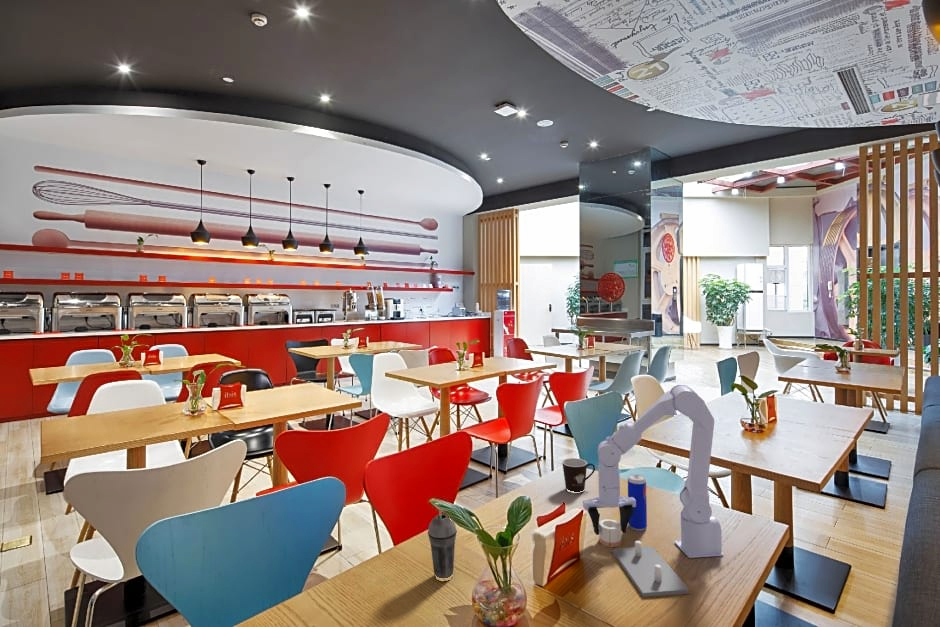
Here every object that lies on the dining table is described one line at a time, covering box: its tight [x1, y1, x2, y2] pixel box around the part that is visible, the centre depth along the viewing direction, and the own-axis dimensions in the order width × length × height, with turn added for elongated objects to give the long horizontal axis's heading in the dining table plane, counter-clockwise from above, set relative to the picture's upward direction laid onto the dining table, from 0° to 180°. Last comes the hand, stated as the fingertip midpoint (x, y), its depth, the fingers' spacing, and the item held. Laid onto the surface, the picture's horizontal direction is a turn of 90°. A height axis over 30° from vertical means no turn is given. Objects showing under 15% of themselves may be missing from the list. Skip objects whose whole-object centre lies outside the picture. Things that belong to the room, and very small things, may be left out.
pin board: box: [611, 540, 690, 598], centre depth 118 cm, size 19×11×4 cm, turn 4°
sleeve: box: [598, 518, 622, 548], centre depth 133 cm, size 6×6×5 cm
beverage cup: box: [427, 499, 458, 578], centre depth 118 cm, size 7×7×20 cm
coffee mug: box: [561, 457, 596, 492], centre depth 168 cm, size 12×9×10 cm
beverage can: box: [627, 473, 648, 531], centre depth 141 cm, size 5×5×15 cm
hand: (609, 532), depth 133 cm, fingers open, 7 cm apart
